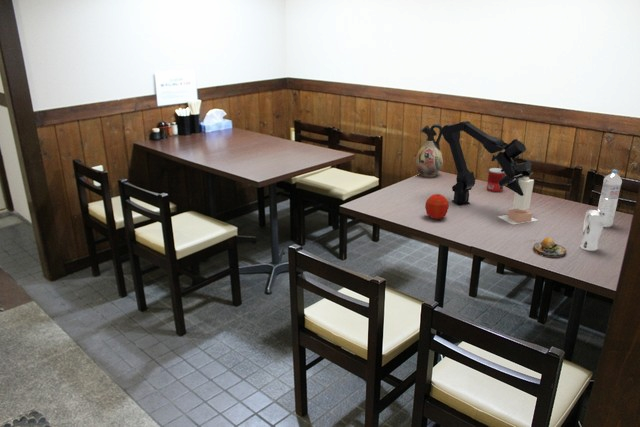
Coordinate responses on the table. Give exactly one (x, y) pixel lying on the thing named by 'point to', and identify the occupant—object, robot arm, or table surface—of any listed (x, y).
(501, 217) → the baseplate
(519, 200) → the tall block
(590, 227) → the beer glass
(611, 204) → the water bottle
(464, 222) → the table surface
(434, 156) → the ceramic jug
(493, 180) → the canned food
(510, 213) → the base block
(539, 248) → the burger
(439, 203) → the apple
